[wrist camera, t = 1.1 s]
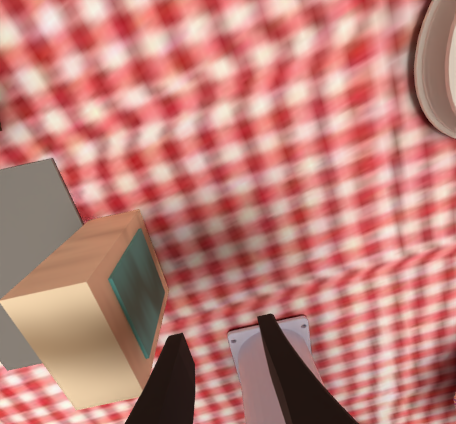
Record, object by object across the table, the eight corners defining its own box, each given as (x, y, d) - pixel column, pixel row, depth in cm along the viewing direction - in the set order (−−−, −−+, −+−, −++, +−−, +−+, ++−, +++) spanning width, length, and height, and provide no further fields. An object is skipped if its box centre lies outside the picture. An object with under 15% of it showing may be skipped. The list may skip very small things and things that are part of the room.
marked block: (171, 289, 22) (148, 395, 14) (125, 299, 22) (76, 410, 14) (141, 208, 19) (90, 280, 11) (89, 220, 19) (-2, 300, 11)
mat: (138, 340, 24) (138, 342, 24) (9, 368, 24) (7, 370, 24) (52, 158, 17) (51, 158, 17) (-127, 197, 17) (-131, 198, 17)
